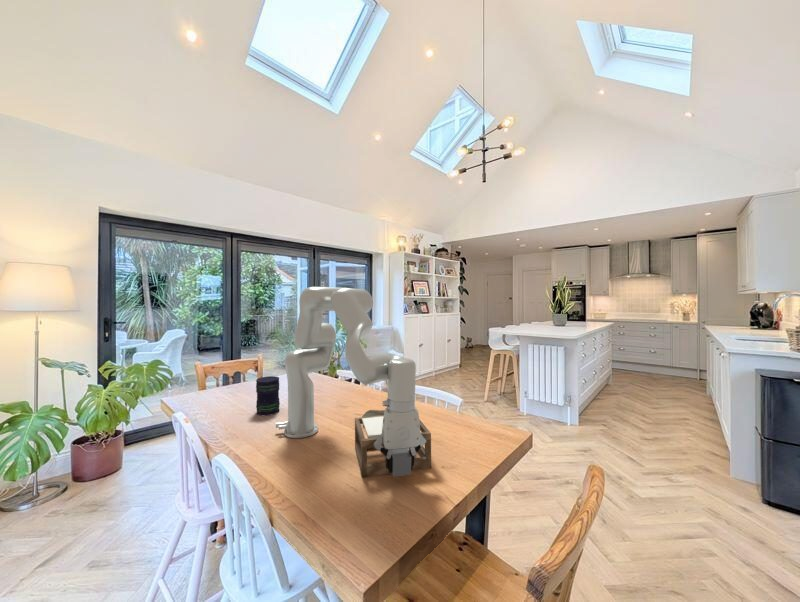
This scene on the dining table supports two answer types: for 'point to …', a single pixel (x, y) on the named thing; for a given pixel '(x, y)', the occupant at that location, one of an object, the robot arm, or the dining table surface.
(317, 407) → the dining table surface
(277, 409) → the storage jar
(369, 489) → the dining table surface
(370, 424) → the hatch leaf
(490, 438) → the dining table surface
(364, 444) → the walnut hatch frame
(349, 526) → the dining table surface
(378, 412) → the marble piece
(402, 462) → the basalt block
